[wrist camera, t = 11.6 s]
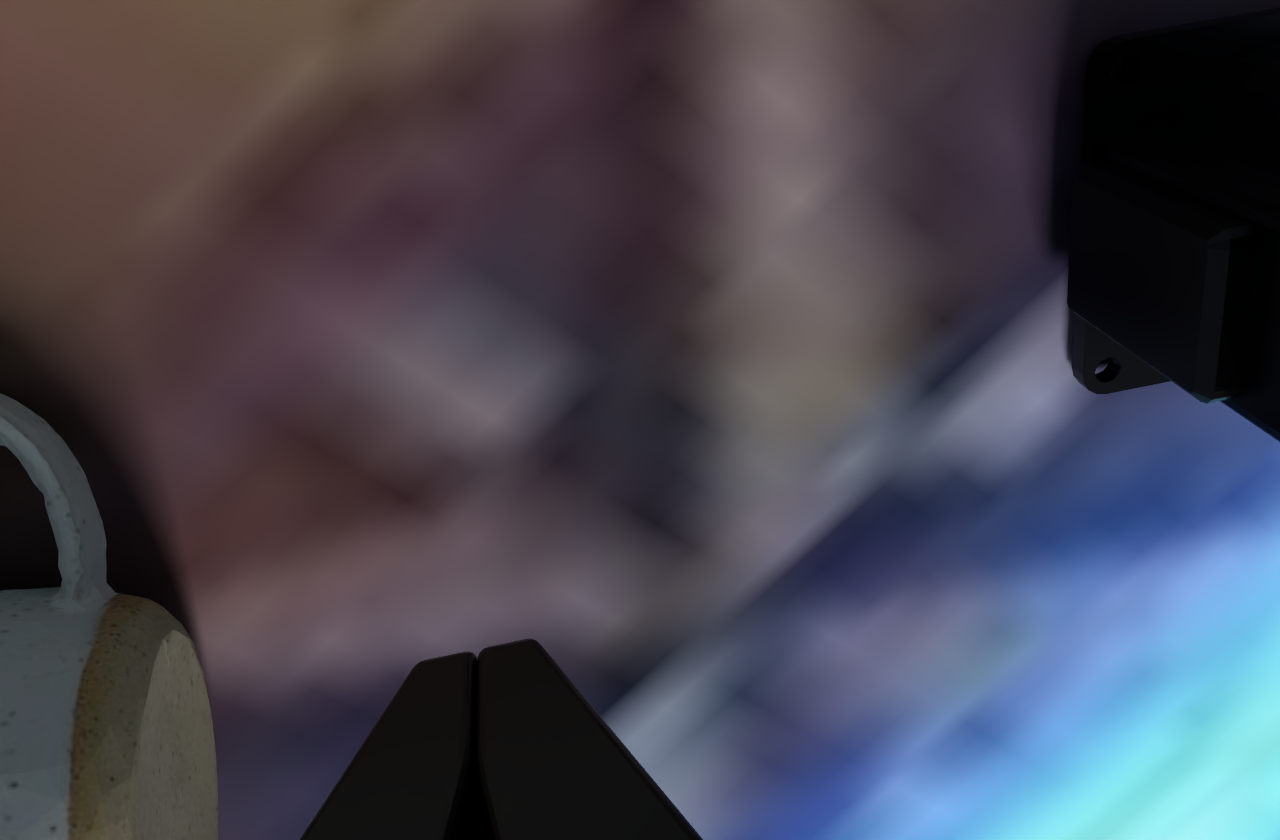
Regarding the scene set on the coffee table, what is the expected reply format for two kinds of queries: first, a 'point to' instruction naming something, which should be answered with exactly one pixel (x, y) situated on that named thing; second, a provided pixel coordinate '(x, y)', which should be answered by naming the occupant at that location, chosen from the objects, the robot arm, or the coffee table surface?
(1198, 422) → the coffee table surface
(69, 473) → the ceramic mug
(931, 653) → the coffee table surface
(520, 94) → the coffee table surface
